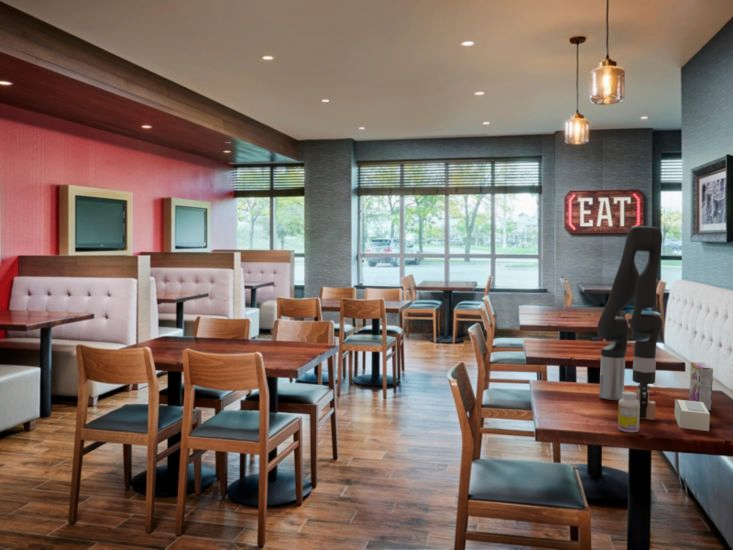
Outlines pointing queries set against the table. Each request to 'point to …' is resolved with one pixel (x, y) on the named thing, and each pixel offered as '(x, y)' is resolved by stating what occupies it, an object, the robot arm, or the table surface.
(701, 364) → the candy bar box
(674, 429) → the table surface
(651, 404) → the tan cardboard box
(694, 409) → the block
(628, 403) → the supplement bottle
